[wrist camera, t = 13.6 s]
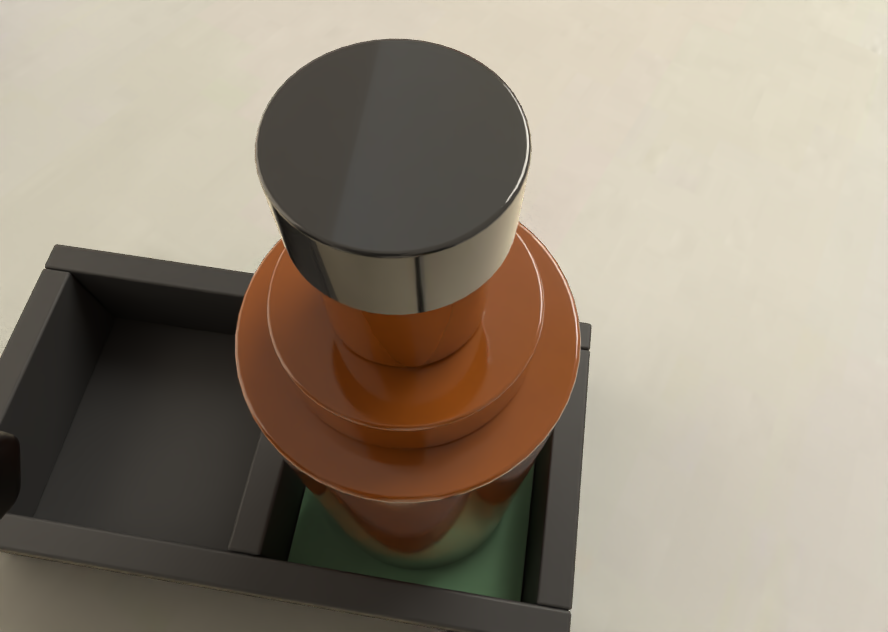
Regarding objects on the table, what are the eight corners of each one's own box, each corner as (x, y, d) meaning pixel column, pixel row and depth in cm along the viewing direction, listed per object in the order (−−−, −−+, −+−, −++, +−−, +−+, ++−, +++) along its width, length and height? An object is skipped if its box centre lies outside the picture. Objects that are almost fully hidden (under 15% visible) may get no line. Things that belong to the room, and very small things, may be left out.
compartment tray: (544, 647, 18) (569, 649, 15) (3, 552, 19) (-87, 534, 16) (568, 370, 21) (592, 323, 18) (109, 300, 22) (54, 242, 19)
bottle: (544, 517, 19) (790, 250, 6) (372, 605, 18) (207, 518, 5) (461, 359, 21) (507, -97, 8) (301, 431, 20) (53, 39, 7)
